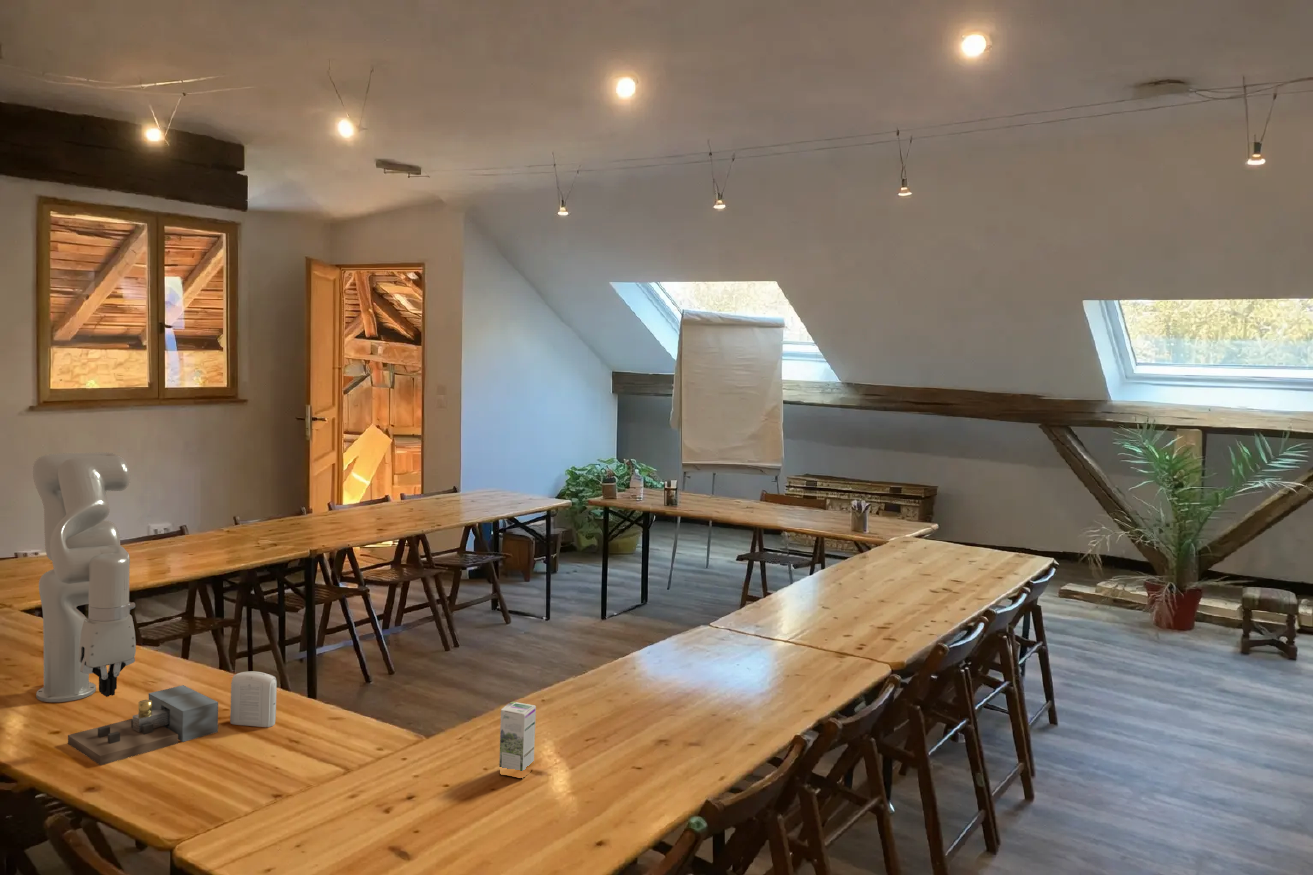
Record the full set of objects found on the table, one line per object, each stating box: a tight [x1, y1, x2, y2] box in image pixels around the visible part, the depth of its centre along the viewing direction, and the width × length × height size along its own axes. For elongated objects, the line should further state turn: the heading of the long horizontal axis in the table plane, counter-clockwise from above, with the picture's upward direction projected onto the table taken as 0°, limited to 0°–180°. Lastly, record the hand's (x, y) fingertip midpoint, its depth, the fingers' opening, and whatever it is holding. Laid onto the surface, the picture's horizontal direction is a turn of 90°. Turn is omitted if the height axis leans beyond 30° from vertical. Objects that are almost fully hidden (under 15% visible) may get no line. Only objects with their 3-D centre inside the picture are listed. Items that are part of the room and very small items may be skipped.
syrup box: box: [498, 701, 537, 771], centre depth 204 cm, size 6×6×14 cm
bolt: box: [132, 699, 170, 732], centre depth 217 cm, size 12×3×6 cm, turn 142°
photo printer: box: [229, 670, 278, 728], centre depth 224 cm, size 10×4×12 cm, turn 86°
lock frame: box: [67, 684, 219, 766], centre depth 214 cm, size 25×16×7 cm, turn 142°
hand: (107, 694), depth 208 cm, fingers closed
